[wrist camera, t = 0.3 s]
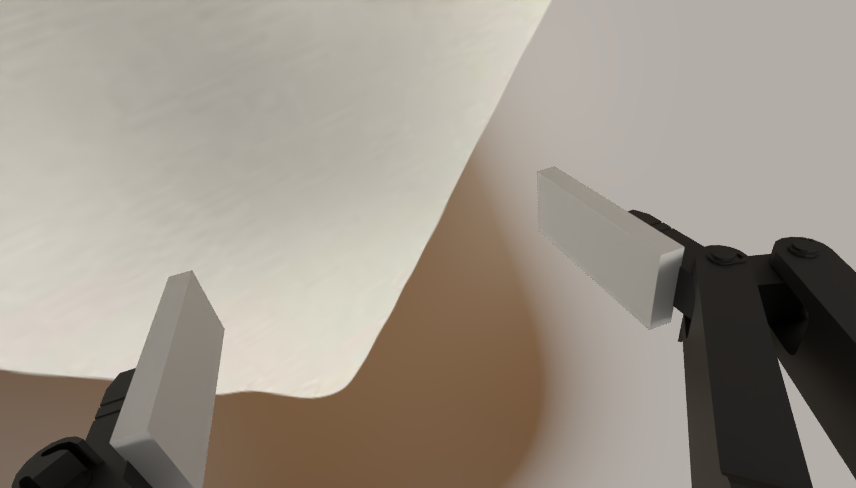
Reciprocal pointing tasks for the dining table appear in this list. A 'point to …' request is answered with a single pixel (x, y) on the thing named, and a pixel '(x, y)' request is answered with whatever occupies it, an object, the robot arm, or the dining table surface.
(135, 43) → the dining table surface
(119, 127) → the dining table surface
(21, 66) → the dining table surface
